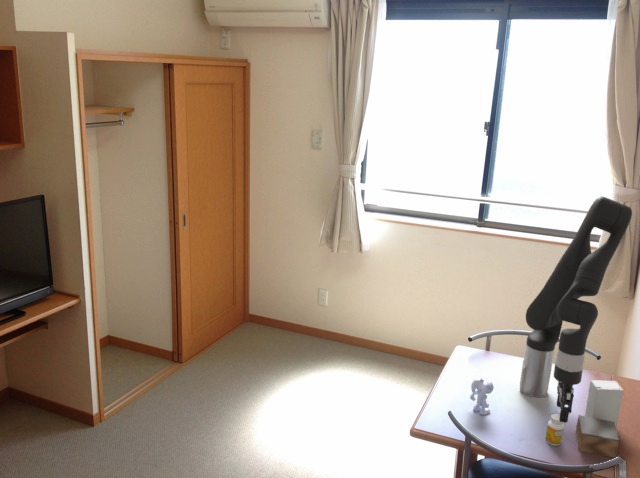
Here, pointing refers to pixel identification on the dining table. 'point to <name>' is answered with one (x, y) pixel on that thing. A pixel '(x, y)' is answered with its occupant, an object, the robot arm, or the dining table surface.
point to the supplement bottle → (554, 431)
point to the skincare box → (604, 400)
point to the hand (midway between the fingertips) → (561, 414)
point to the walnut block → (597, 436)
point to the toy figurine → (481, 395)
